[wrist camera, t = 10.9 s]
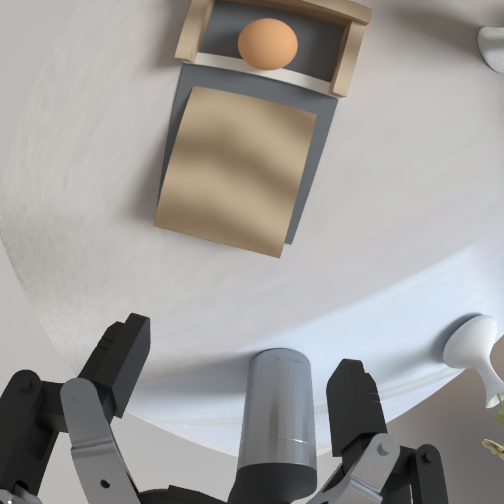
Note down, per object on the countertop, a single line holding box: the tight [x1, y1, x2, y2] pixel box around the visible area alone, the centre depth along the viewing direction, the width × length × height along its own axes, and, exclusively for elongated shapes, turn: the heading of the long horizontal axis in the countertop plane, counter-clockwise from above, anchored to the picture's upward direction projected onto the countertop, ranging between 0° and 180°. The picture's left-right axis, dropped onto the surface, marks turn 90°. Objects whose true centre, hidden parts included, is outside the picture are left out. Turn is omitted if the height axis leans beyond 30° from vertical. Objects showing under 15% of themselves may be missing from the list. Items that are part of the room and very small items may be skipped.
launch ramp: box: [153, 86, 317, 258], centre depth 25 cm, size 14×12×6 cm
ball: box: [238, 18, 298, 71], centre depth 19 cm, size 5×5×5 cm
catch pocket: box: [174, 0, 372, 98], centre depth 19 cm, size 9×15×4 cm, turn 76°
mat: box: [157, 0, 345, 244], centre depth 24 cm, size 25×15×1 cm, turn 166°
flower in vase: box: [443, 315, 504, 460], centre depth 25 cm, size 13×11×25 cm
